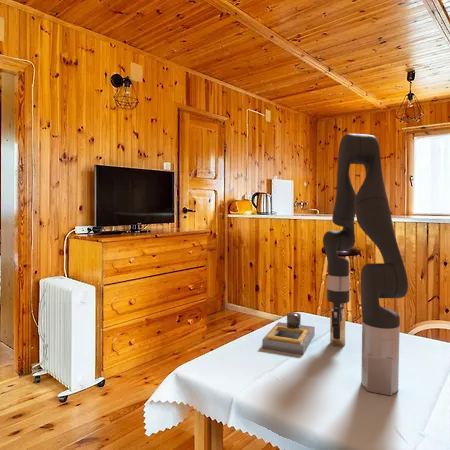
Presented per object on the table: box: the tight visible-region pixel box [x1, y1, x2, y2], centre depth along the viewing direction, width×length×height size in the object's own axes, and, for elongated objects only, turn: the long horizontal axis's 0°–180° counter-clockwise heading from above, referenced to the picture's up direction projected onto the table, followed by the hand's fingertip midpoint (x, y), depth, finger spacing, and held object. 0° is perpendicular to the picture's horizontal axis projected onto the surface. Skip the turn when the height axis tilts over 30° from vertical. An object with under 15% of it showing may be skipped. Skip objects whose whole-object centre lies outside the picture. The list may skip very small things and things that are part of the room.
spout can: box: [329, 314, 346, 347], centre depth 128 cm, size 5×5×12 cm
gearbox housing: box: [261, 311, 316, 355], centre depth 131 cm, size 20×14×8 cm
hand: (337, 335), depth 128 cm, fingers closed on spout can, 5 cm apart
